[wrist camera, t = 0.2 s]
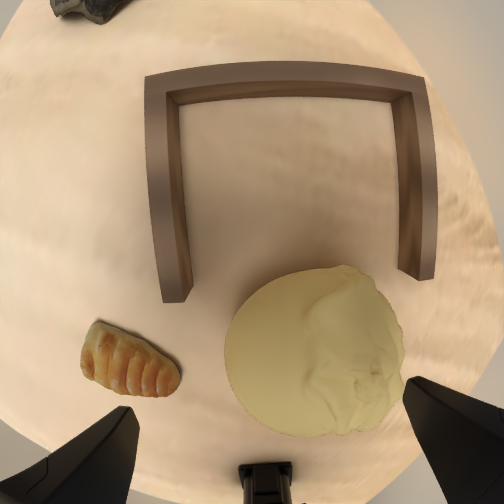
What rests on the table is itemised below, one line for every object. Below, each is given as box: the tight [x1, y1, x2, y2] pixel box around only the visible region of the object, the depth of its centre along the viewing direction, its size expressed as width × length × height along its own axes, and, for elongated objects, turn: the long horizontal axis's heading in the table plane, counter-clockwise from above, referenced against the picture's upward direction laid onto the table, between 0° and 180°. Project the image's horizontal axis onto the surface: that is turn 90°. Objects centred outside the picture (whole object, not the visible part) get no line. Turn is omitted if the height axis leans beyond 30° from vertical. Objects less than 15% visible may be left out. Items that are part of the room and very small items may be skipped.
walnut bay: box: [144, 61, 438, 303], centre depth 19 cm, size 16×20×4 cm
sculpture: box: [224, 265, 405, 437], centre depth 18 cm, size 11×12×11 cm
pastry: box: [80, 322, 181, 398], centre depth 22 cm, size 9×7×4 cm
